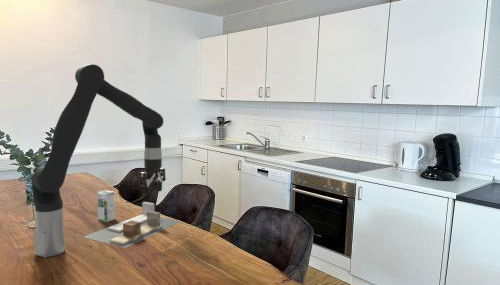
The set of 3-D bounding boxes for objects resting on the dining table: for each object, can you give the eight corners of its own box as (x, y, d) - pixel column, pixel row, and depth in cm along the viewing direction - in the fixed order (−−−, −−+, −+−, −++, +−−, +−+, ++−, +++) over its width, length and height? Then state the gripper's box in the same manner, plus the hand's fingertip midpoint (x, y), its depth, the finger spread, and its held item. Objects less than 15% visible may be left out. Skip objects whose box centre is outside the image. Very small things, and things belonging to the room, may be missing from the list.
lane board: (125, 249, 145) (125, 247, 145) (82, 238, 156) (82, 236, 156) (181, 223, 177) (181, 221, 177) (142, 215, 188) (142, 213, 188)
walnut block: (132, 237, 153) (131, 225, 153) (123, 235, 155) (122, 223, 155) (140, 233, 158) (140, 222, 157) (131, 231, 160) (131, 220, 159)
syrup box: (97, 221, 177) (96, 192, 176) (107, 218, 182) (106, 189, 181) (105, 223, 175) (105, 193, 173) (115, 220, 180) (114, 191, 178)
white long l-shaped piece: (119, 232, 161) (118, 216, 161) (107, 229, 164) (107, 214, 164) (156, 217, 183) (155, 203, 182) (145, 215, 186) (144, 201, 185)
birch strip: (122, 245, 147) (121, 228, 146) (109, 242, 150) (109, 225, 149) (161, 227, 169) (161, 212, 168) (150, 224, 172) (149, 210, 171)
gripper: (148, 160, 157) (148, 197, 159) (169, 156, 170) (169, 190, 171) (135, 158, 160) (135, 195, 162) (157, 154, 173) (157, 188, 175)
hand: (153, 192), depth 167 cm, fingers open, 8 cm apart
